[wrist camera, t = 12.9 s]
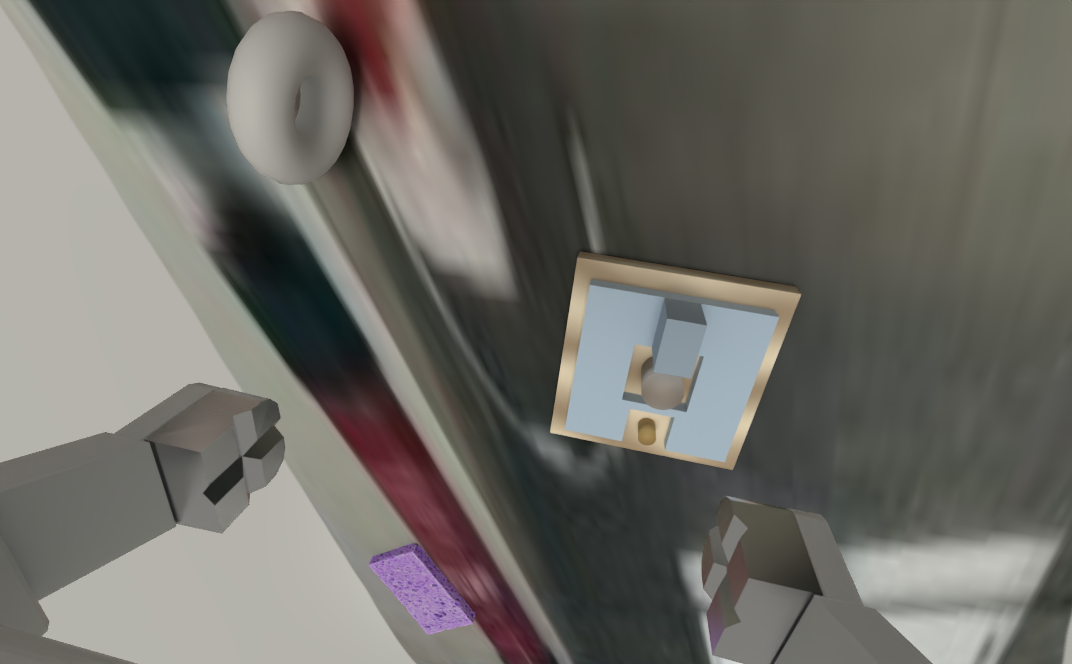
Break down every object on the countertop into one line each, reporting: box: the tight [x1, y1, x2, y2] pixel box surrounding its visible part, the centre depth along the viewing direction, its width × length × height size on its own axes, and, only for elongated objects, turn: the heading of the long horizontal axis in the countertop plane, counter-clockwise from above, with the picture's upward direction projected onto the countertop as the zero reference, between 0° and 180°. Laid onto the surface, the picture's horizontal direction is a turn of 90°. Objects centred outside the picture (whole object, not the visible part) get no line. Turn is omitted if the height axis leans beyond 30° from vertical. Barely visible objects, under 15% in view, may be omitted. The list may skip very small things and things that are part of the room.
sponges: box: [368, 544, 475, 635], centre depth 58 cm, size 7×13×2 cm, turn 30°
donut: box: [226, 11, 354, 185], centre depth 31 cm, size 10×4×10 cm, turn 165°
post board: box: [550, 251, 801, 470], centre depth 38 cm, size 16×16×4 cm
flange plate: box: [565, 279, 779, 462], centre depth 36 cm, size 13×13×5 cm
